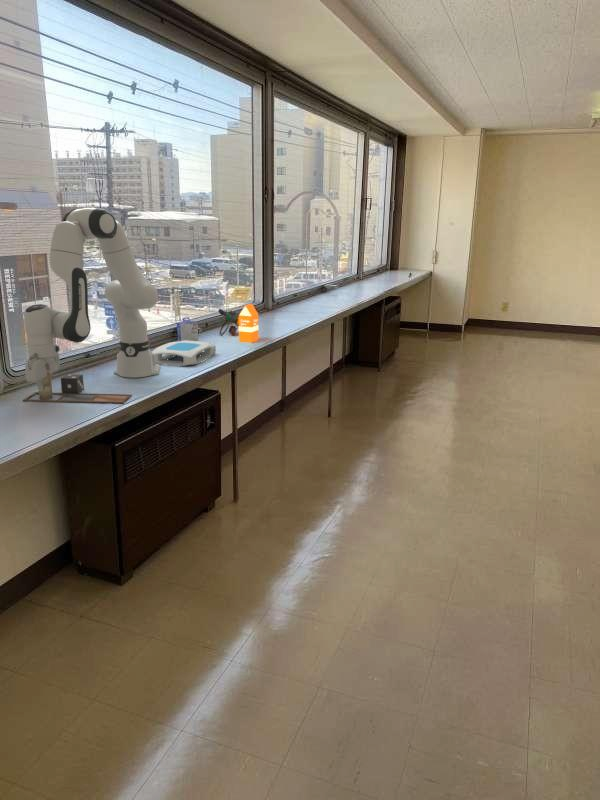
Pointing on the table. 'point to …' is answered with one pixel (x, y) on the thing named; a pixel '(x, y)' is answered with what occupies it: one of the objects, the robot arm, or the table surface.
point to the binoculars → (231, 319)
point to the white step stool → (184, 352)
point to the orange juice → (248, 324)
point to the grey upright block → (187, 330)
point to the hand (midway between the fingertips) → (45, 388)
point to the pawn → (46, 385)
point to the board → (86, 398)
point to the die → (72, 383)
